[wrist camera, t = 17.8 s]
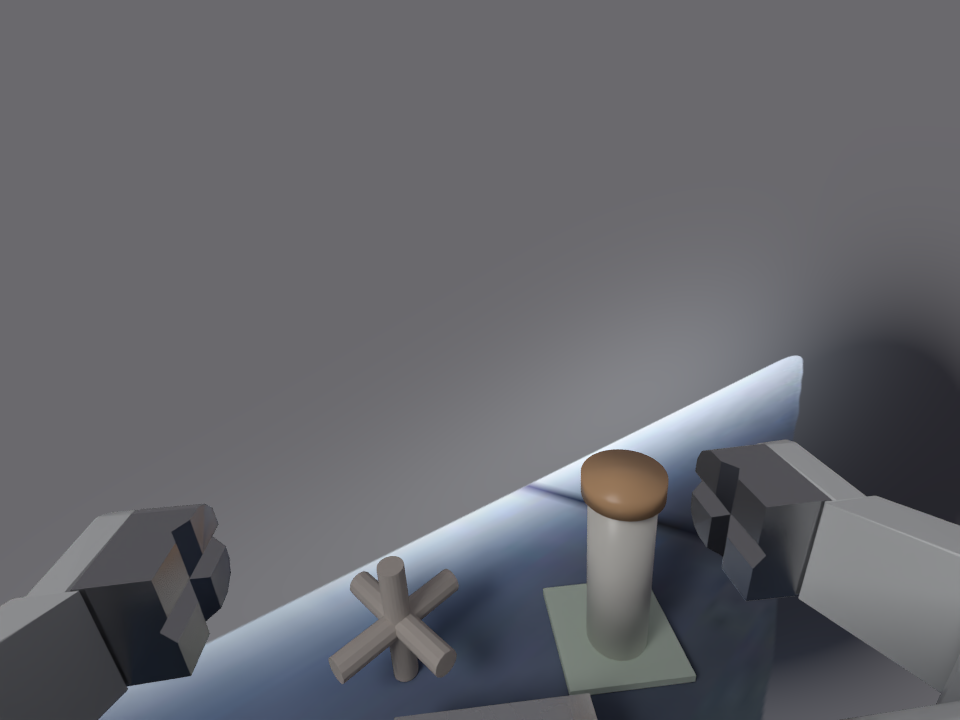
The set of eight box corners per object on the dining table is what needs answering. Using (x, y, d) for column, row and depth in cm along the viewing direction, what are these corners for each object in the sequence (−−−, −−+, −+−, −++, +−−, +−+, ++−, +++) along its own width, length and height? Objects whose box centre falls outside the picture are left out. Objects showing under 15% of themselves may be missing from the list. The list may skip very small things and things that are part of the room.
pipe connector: (416, 593, 44) (404, 499, 40) (500, 665, 37) (495, 560, 33) (311, 674, 37) (285, 571, 33) (391, 779, 30) (369, 665, 27)
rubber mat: (569, 697, 34) (570, 691, 34) (543, 593, 43) (543, 588, 43) (695, 681, 35) (696, 675, 35) (644, 582, 43) (645, 577, 43)
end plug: (590, 670, 36) (592, 506, 29) (573, 605, 41) (572, 453, 34) (664, 663, 36) (682, 497, 30) (639, 599, 41) (650, 446, 34)
